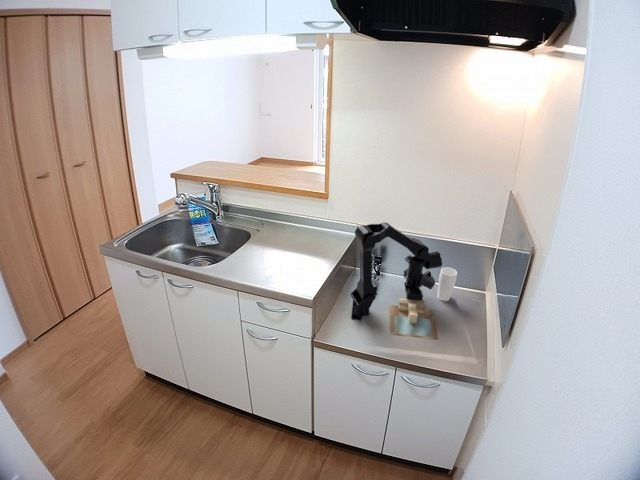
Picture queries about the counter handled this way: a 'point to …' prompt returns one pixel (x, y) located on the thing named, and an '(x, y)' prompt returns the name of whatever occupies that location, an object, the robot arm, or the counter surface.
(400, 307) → the t block
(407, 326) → the push board
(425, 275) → the robot arm
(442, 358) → the counter surface
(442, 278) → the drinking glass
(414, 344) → the counter surface
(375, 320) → the counter surface
